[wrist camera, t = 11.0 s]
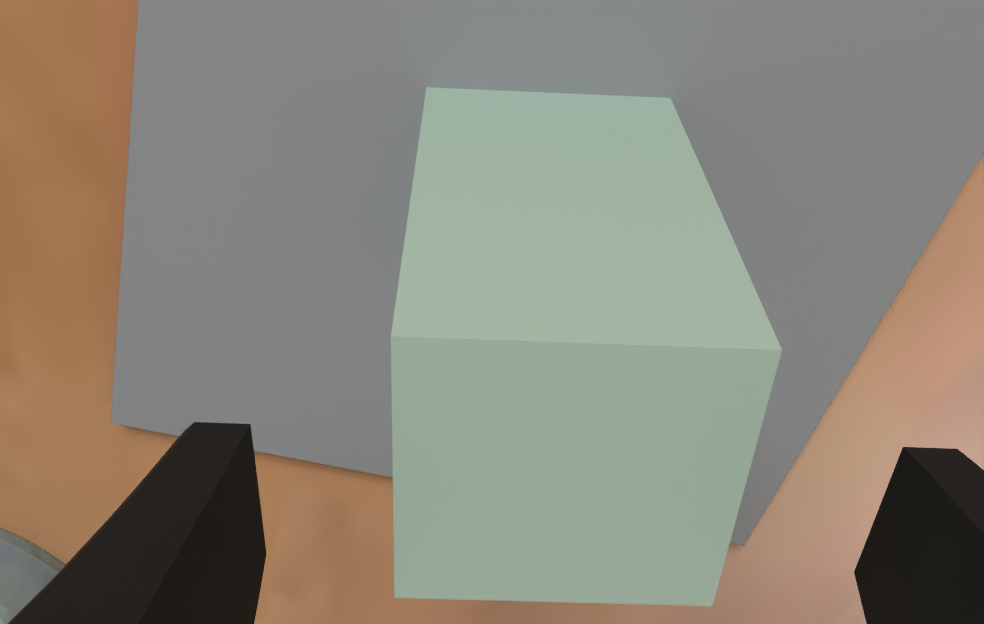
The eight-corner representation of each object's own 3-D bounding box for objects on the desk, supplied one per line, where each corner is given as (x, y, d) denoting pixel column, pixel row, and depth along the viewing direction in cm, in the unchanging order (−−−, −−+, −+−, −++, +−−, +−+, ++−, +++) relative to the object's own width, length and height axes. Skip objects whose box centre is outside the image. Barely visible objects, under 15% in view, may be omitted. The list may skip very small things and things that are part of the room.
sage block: (670, 98, 15) (781, 350, 10) (638, 301, 18) (712, 605, 12) (426, 86, 15) (391, 335, 10) (424, 293, 18) (394, 597, 12)
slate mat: (1116, -96, 14) (1131, -90, 14) (739, 532, 22) (743, 545, 21) (173, -404, 12) (164, -406, 12) (116, 410, 20) (110, 423, 19)
